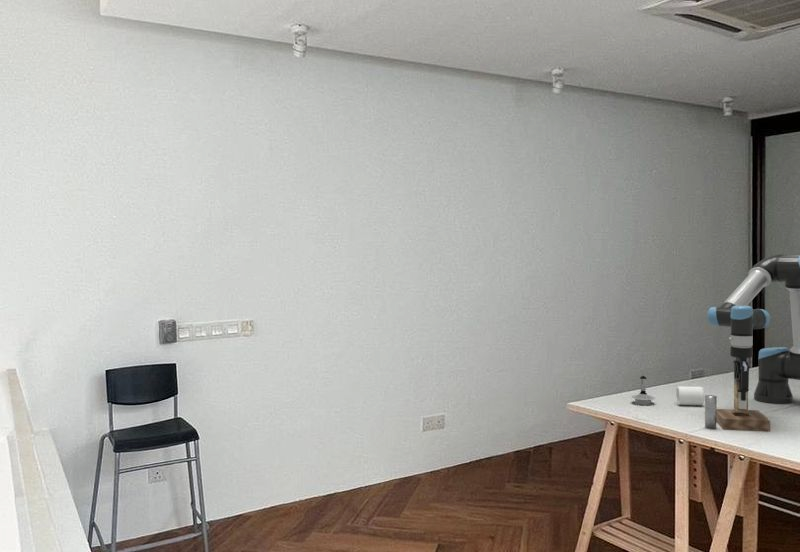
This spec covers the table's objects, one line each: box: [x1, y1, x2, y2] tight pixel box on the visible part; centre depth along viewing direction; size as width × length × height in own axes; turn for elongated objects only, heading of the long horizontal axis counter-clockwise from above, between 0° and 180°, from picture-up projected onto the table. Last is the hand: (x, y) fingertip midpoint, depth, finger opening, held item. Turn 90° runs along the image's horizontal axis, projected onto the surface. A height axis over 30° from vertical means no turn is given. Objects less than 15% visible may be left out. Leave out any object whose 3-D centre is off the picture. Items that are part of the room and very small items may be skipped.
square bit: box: [733, 377, 749, 412], centre depth 266 cm, size 4×4×12 cm
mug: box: [675, 385, 705, 407], centre depth 302 cm, size 12×10×8 cm
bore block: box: [716, 408, 771, 432], centre depth 266 cm, size 16×16×4 cm
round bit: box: [704, 394, 718, 430], centre depth 263 cm, size 4×4×12 cm
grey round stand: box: [630, 375, 656, 406], centre depth 305 cm, size 12×10×10 cm
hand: (741, 407), depth 266 cm, fingers closed on square bit, 4 cm apart
